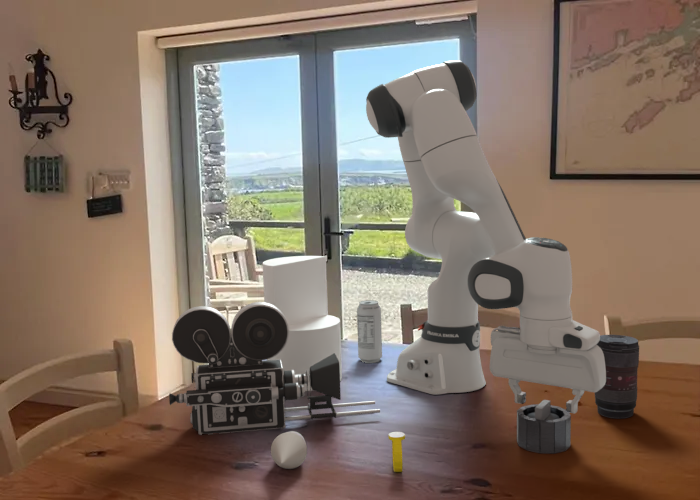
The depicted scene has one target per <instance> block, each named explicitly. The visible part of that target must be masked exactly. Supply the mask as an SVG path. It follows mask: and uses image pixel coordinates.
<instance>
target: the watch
mask: <svg viewBox="0 0 700 500" xmlns="http://www.w3.org/2000/svg"><path fill="white" fill-rule="evenodd" d="M387 437H388V440H390V441H391V449H392V451H391V453H392V455H391V456H392V467H393V472H394V473H403V466H404V465H403V464H404V463H403V445H402V444H403V442H402V441H403V440H406V434H405V433H404V432H402V431H393V432H389V433H388V436H387Z"/></svg>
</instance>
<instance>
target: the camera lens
mask: <svg viewBox="0 0 700 500" xmlns="http://www.w3.org/2000/svg"><path fill="white" fill-rule="evenodd" d="M596 345H598V346H599V347H600V348H601V350H602V351H603V354H604V359H605V367H606V383H605V385H604V386H603V388H601V389H600V390H599V391H598V392H594V400H595V401H594V403H595V405H596V406H597V407H596V408H597V413H598V414H599V415H601V416H603V417H605V418H610V419H627V418H630V417H633V416H634V411H635V408H636V407H637V402H638V401H637V400H638V370H639V369H638V368H639V363H640V361H639V360H640V345H639V339H637V338H635V337H632V336H628V335H622V334H621V335H619V334H600V341H599V342H598V343H597V344H596Z"/></svg>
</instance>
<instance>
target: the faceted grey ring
mask: <svg viewBox="0 0 700 500" xmlns="http://www.w3.org/2000/svg"><path fill="white" fill-rule="evenodd" d="M539 404H540V403H536V404H528V405H527V404H526V405H523V406H521V407H519V408H518V409H517V410H516V442H517V446H518V447H520V448H521V449H524V450H525V451H528V452H533V453H536V454H552V455H554V454H559V453H562V452H563V453H564V452H566V451H567V450H568V449H570V448H571V443H572V442H571V441H572V440H571V436H572V434H571V431H572V430H571V428H572V419H571V418H572V416H571V414H570V413H569V412H566V408H564V407H563V408H562V407H561V406H557V405H552V404H550V411H551V413H553V414H556V415H557V416H559V419H555V420H538V419H533V418H530V417H528V416H527V415H528V414H530V413H534V412H535V407H536V406H537V405H539Z"/></svg>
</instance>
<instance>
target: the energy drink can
mask: <svg viewBox="0 0 700 500" xmlns="http://www.w3.org/2000/svg"><path fill="white" fill-rule="evenodd" d="M356 315H357V316H356V321H357V322H356V323H357V324H356V325H357V355H358V358H359V360H360V362H361V361H362V363H364V362H365V364H374V363H379V362H380V361H381V359H382V358H383V343H382V342H383V340H382V339H383V338H382V336H383V335H382V331H383V330H382V308H381V305H379V300H374V299H372V300H371V299H370V300H368V299H367V300H361V301H359V302H358V307H357V309H356Z"/></svg>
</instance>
